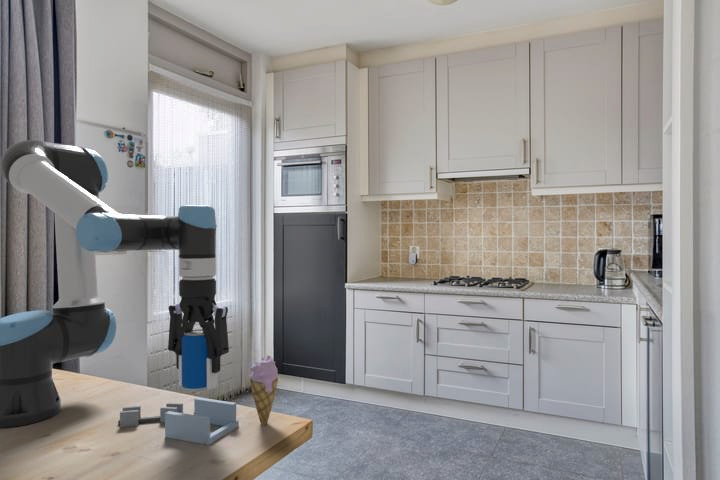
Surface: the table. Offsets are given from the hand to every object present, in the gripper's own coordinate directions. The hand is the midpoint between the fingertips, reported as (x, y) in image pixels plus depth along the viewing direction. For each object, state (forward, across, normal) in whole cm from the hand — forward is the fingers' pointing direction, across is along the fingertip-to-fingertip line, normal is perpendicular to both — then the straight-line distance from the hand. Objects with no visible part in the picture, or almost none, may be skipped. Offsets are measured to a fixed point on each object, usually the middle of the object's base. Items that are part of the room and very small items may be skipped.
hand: (198, 385), depth 105 cm
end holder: (+10, 0, 0) cm, 10 cm away
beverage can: (+1, 0, 0) cm, 1 cm away
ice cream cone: (+10, +11, +8) cm, 17 cm away
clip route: (+10, -12, 0) cm, 16 cm away
